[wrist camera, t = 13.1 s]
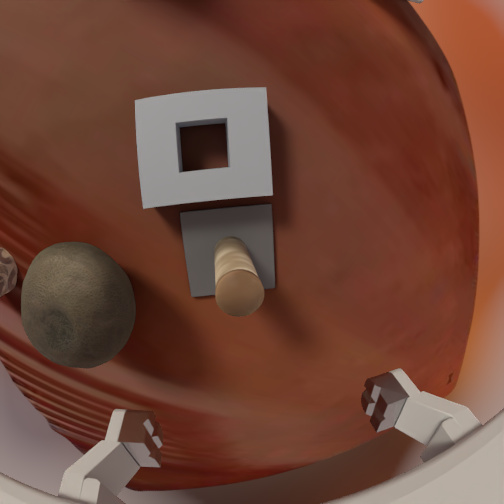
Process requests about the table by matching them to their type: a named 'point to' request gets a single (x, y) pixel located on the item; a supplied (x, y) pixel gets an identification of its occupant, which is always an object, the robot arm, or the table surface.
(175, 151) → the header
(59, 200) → the table surface
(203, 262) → the mat
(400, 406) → the robot arm
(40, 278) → the cantaloupe
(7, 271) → the figurine
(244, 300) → the peg
